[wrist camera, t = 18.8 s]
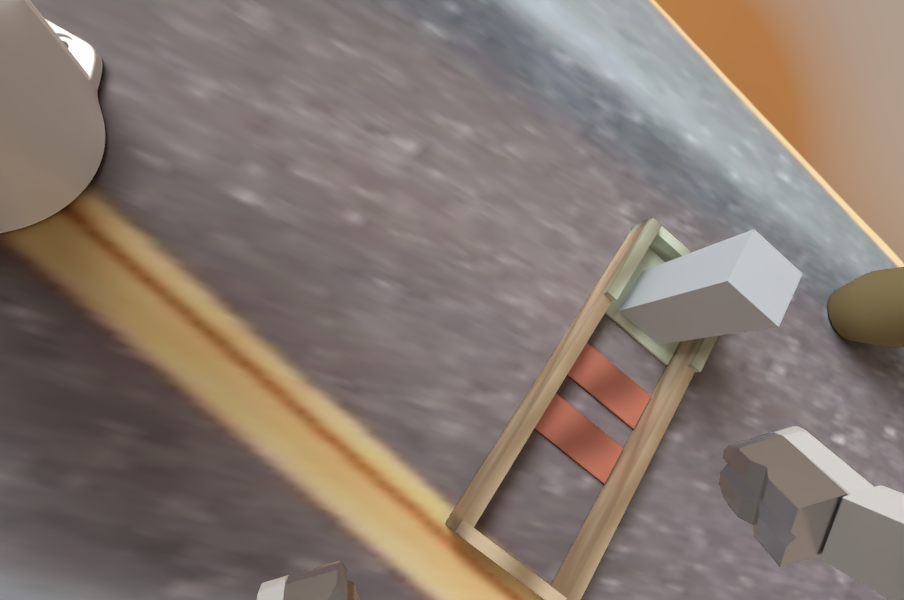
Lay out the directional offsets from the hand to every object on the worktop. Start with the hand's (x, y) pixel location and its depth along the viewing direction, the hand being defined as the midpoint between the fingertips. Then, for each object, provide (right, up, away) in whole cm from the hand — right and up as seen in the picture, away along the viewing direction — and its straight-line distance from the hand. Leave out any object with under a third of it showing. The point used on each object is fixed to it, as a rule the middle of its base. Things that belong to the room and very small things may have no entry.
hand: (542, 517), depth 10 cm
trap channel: (+11, -4, +32) cm, 34 cm away
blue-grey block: (+17, +4, +35) cm, 39 cm away
